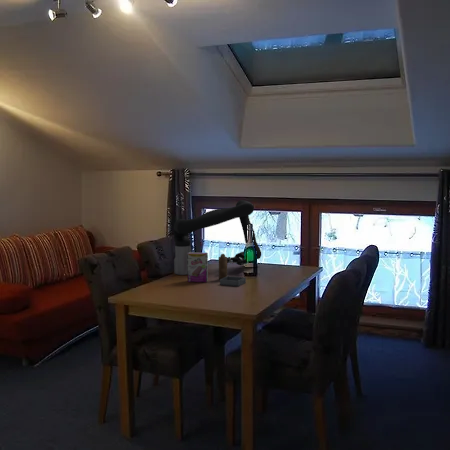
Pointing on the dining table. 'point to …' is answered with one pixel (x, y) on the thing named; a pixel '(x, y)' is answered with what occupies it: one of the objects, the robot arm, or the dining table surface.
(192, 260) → the candy bar box
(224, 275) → the pepper mill
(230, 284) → the tray
